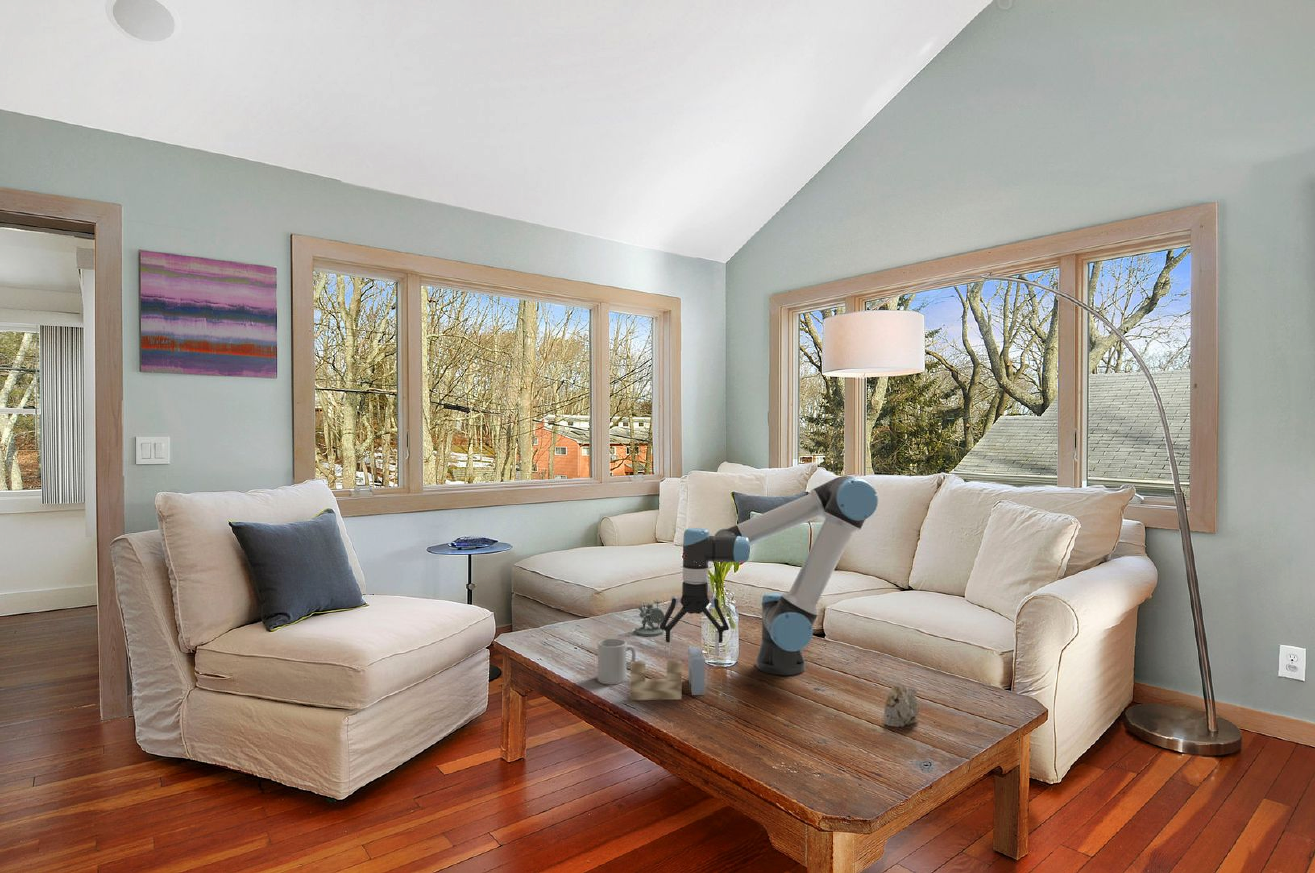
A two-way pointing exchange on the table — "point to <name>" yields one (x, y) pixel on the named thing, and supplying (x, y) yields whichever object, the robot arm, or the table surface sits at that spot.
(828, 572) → the robot arm
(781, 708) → the table surface
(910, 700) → the rock
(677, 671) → the slot plate fixed
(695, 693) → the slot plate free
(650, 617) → the figurine
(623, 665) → the mug
